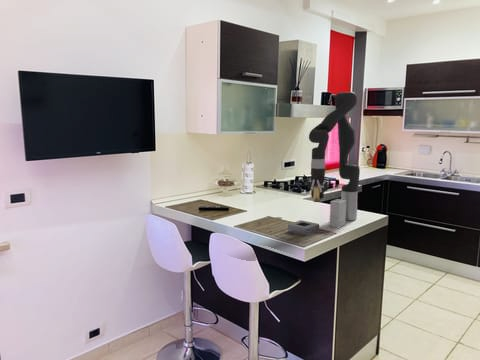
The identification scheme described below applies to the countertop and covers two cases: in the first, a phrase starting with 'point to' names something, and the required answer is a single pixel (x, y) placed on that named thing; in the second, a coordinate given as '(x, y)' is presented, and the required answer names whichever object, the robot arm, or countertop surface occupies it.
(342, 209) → the skincare box
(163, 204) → the countertop surface
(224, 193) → the countertop surface
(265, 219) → the countertop surface
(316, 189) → the piston
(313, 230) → the collar
